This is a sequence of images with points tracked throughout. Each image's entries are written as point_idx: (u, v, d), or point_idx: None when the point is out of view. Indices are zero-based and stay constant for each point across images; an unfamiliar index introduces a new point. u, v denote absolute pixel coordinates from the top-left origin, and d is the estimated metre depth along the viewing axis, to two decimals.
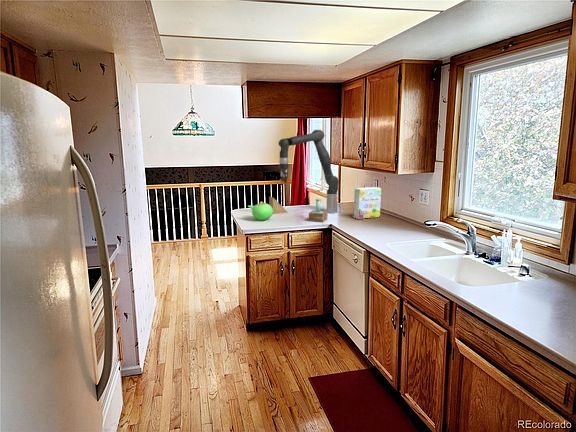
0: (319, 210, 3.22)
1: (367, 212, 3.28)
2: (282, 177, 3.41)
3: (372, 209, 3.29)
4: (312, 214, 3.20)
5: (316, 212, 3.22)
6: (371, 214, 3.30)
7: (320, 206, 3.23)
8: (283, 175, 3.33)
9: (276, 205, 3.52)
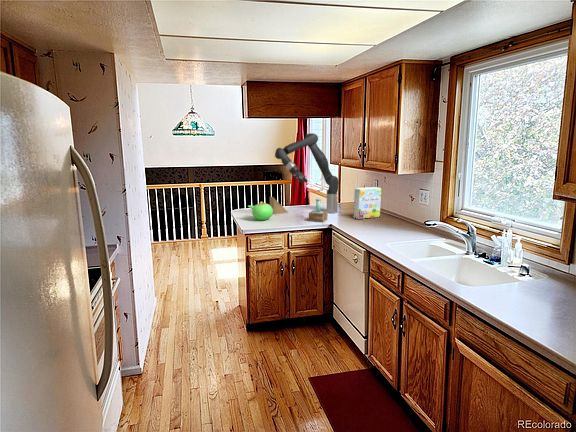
0: (319, 210, 3.22)
1: (367, 212, 3.28)
2: (303, 179, 3.28)
3: (372, 209, 3.29)
4: (312, 214, 3.20)
5: (316, 212, 3.22)
6: (371, 214, 3.30)
7: (320, 206, 3.23)
8: None
9: (277, 205, 3.52)
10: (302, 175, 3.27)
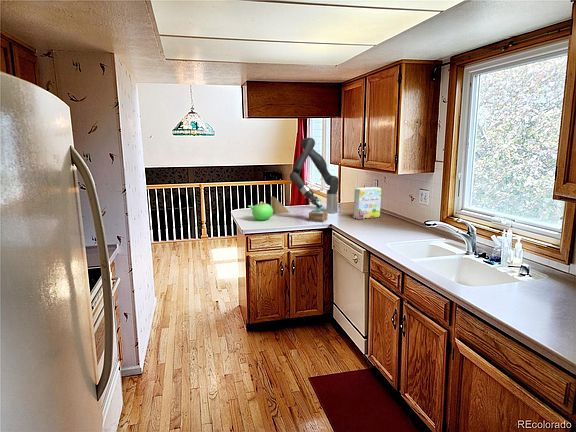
0: (319, 210, 3.22)
1: (367, 212, 3.28)
2: None
3: (372, 209, 3.29)
4: (312, 214, 3.20)
5: (316, 212, 3.22)
6: (371, 214, 3.30)
7: (320, 206, 3.23)
8: None
9: (278, 205, 3.52)
10: None
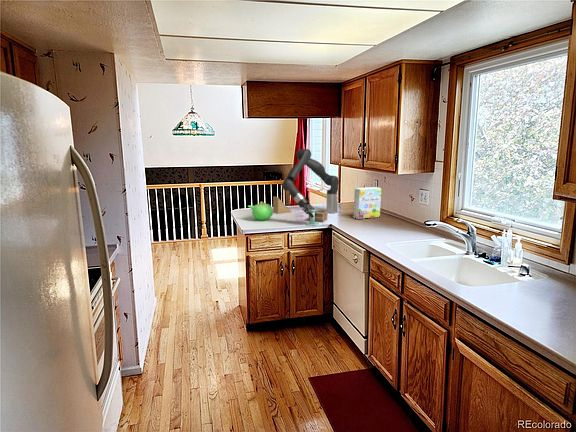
0: (313, 221, 3.08)
1: (367, 212, 3.28)
2: None
3: (372, 209, 3.29)
4: None
5: (310, 224, 3.08)
6: (371, 214, 3.30)
7: (314, 217, 3.09)
8: None
9: (281, 205, 3.52)
10: (311, 208, 3.10)
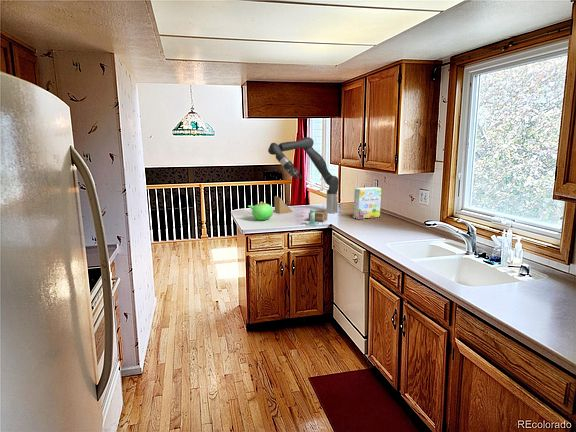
0: (313, 221, 3.08)
1: (367, 212, 3.28)
2: (298, 174, 3.22)
3: (372, 209, 3.29)
4: None
5: (310, 224, 3.08)
6: (371, 214, 3.30)
7: (314, 217, 3.09)
8: (291, 174, 3.16)
9: (283, 205, 3.53)
10: (296, 171, 3.20)
